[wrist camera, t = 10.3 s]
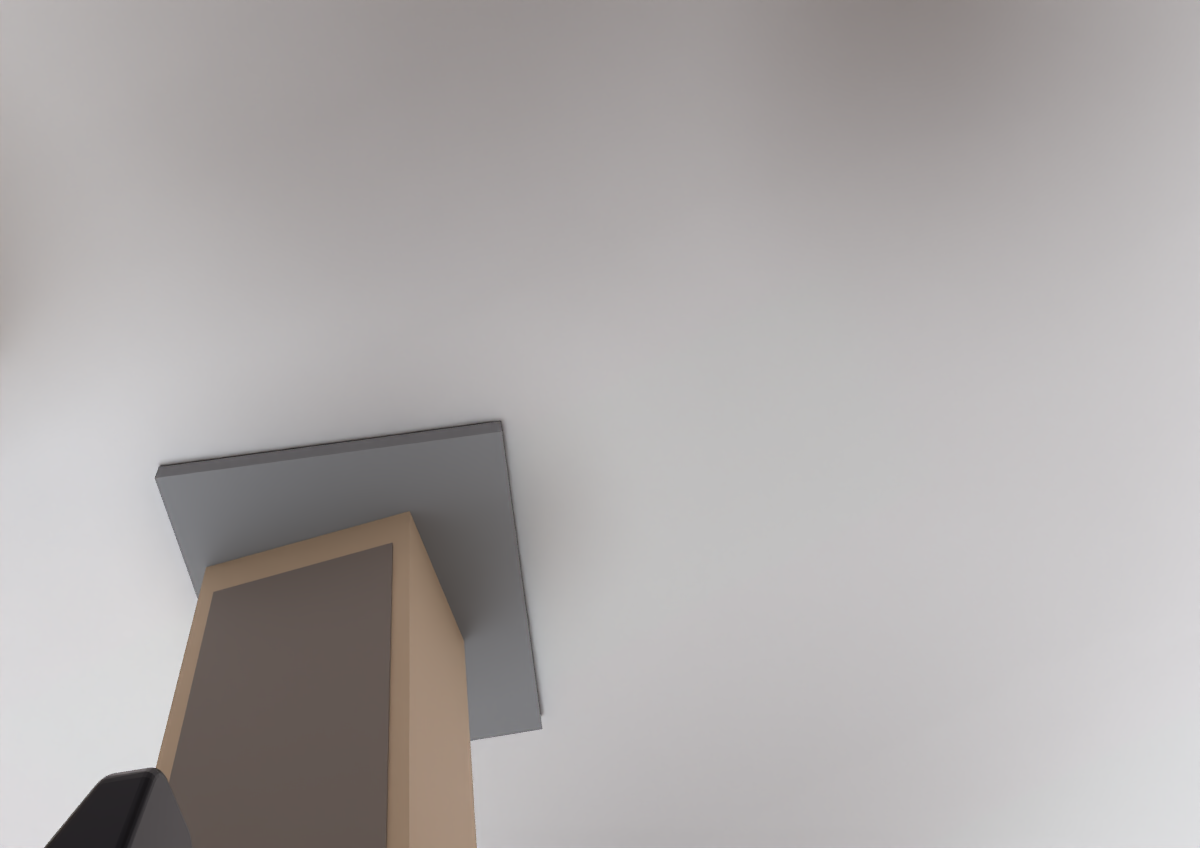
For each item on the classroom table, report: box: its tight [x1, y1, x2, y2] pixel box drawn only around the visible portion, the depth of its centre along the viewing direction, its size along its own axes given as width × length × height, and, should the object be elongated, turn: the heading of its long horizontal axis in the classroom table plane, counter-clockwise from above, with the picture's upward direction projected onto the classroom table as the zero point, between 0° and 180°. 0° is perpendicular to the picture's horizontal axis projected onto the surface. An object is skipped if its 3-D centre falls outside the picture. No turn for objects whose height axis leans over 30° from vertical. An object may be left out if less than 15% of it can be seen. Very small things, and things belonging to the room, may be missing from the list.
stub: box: [156, 511, 477, 848], centre depth 19 cm, size 4×5×12 cm
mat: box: [155, 421, 542, 741], centre depth 24 cm, size 9×7×1 cm
